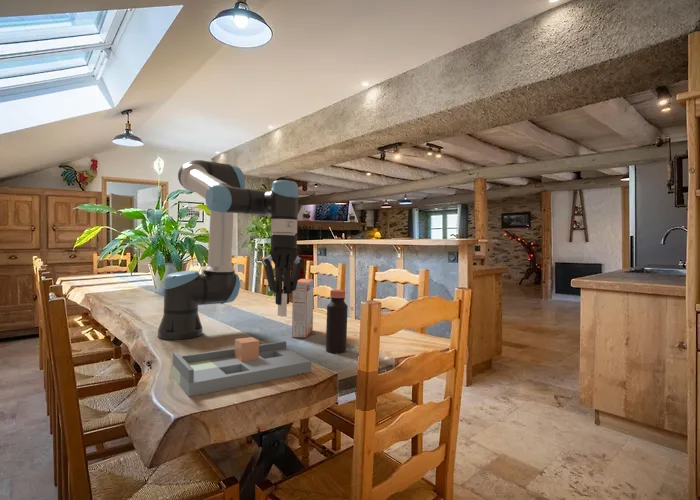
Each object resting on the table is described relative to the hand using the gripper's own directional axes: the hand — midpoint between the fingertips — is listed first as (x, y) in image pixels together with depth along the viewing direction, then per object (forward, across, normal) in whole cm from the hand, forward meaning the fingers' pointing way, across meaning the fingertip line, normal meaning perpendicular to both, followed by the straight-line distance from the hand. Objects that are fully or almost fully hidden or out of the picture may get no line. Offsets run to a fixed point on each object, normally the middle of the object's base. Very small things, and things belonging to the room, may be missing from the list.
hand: (282, 315), depth 112 cm
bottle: (+14, +22, +3) cm, 26 cm away
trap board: (+14, -12, -3) cm, 19 cm away
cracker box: (+14, +24, +29) cm, 40 cm away
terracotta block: (+11, -10, +1) cm, 15 cm away
